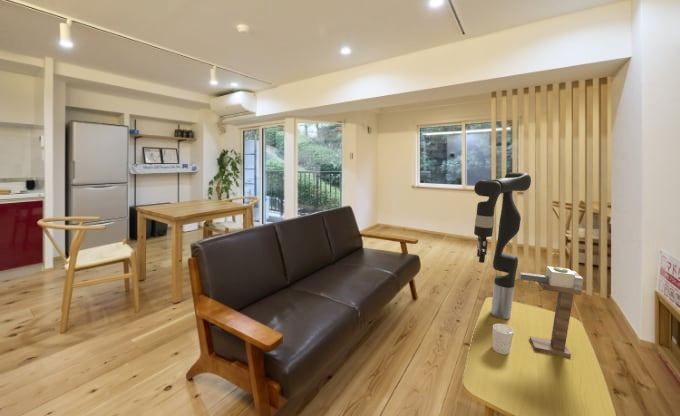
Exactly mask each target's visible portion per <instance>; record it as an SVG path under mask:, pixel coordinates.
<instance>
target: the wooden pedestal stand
mask: <svg viewBox="0 0 680 416" xmlns="http://www.w3.org/2000/svg"><path fill="white" fill-rule="evenodd" d="M571 271H572V272H573V273H574V274H575V280H574V286H573V288H565V287H558V286H550V285H549V283H541V282H537V283H538V285H539V286H540V287H541V289H542V290H543V291H549V292H555V293H557V297H556V299H557V300H556V305H555V311H554V317H553V319H554V320H553V325H552V331H551V332H552V333H551V336H550V337H551V339H548V338H543V337H537V336H530V335H529V341H530V343H531V345H532V348H533V349H534V351H535V352H539V353H545V354H550V355H556V356H561V357H565V358H571V357H572V354H571V352H570V351H569V349H568V346H566V345H567V337H568V330H569V325H570V318H571V313H572V306H573V300H574V295H577V296H581V295H582V290H583V284H584V278H583V277H582V276H581V275H580V274H579V273H578V272H576V271H575V270H571Z"/></svg>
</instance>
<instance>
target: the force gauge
mask: <svg viewBox="0 0 680 416" xmlns="http://www.w3.org/2000/svg"><path fill="white" fill-rule="evenodd" d="M572 271H573V270H571V269H570V268H566V267H561V266H559V267H558V266H550V265H549V266H548V265H547V266H546V271H545V275H543V274H539V273H537V274H535V273H529V272H522V271H520V272H519V275H518V277H519V280H520V281H526V282H527V281H528V282H533V283H534V282H535V283H538V282H541V283H549V285H550V286H558V287H565V288H573V286H574V280H575V274H574V273H573V272H572Z"/></svg>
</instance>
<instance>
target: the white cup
mask: <svg viewBox="0 0 680 416" xmlns="http://www.w3.org/2000/svg"><path fill="white" fill-rule="evenodd" d="M514 331H515V330H514V329H513V328H512V327H511V326H510V325H507V324H504V323H494V324H492V334H491V335H492V336H491V338H492V339H491V342H492V343H491V348H492V350H493V351H494V352H495V353H497V354H501V355H509V353H510V351H511V347H512V342H513V337H514V334H515V333H514Z"/></svg>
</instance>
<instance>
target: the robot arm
mask: <svg viewBox="0 0 680 416" xmlns="http://www.w3.org/2000/svg"><path fill="white" fill-rule="evenodd" d="M531 185H532V177H531V176H530V174H529V173H526V172H511V171H510V172H507V173H506V174H505V176H504V177H500V178H495V179H481V180H478V181H477V182H476V183H475V185H474V188H473V190H474V192H475V194H476V195H477V196H480V197H487V198H488V199H487V200H486V201H479V202H477V205H476V206H477V207H476V214H475V215H476V216H475V220H474V230H473V233H474V236H477V239H476V247H477V253H476V257H478V263H480V264H481V263H482V264H483V263H484V264H485V261H486V259H485V258H486V255H487V252H488V251H487V250H488V244H489V243H488V241H489V240H488V239H487V238H491V237H493V233H494V225H495V220H494V219H495V217H494V216H495V209H496V208H495V207H496V204H497V202H498V199H499V197H500V195H501V194H502V203H501V211H500V215H499V216H500V217H499V223H498V232H497V240H496V246H495V250H494V256H493V262H492V268H493V269H494V270H495V271H498V272H503V273H507V274H506V275H497V276H496V277H495V278H494V279H493V280H494V281H493V292H492V298H491V300H492V302H491V308H490V314H491V315H492V316H493V317H495V318H497V319H501V320H509V319H510V318H511V316H512V307H513V299H514V291H515V283H516V276H517V270H518V264H519V258H518V256H516V255H512V254H508V253H507V254H506V253H503V251H504V249H505V248H506V245H508V243H509V242H510V241H511V240H512V239H513V238H514V237H515V236H516V235H518V233H519V231H520V226H521V220H522V219H521V217H522V216H521V214H520V212H519V210H518V208H517V206H516V204H515V202H514V198H513V192H515V191H516V192H525V191H527V190H529V188H530V187H531Z"/></svg>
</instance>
